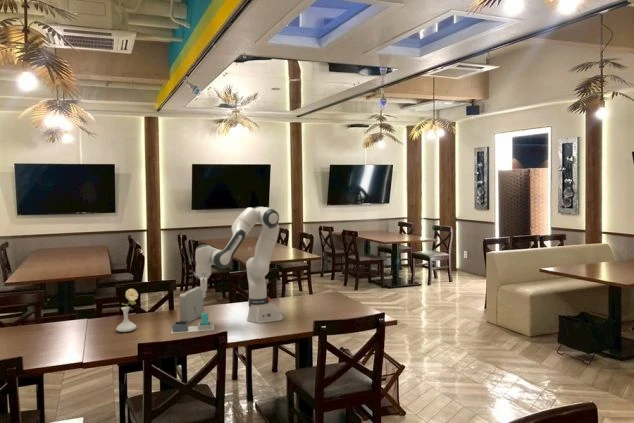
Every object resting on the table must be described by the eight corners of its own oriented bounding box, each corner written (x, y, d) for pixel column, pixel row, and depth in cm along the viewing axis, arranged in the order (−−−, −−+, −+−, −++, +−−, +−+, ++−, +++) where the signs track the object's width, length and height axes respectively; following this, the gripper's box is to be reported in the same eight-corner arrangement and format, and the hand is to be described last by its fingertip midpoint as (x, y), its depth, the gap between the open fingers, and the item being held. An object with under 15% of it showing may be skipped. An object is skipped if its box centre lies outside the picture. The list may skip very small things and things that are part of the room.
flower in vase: (118, 334, 284) (116, 292, 283) (114, 330, 294) (112, 288, 293) (141, 330, 291) (139, 289, 290) (137, 326, 301) (135, 286, 300)
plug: (208, 326, 292) (208, 312, 292) (208, 328, 288) (208, 314, 288) (201, 327, 291) (201, 313, 291) (201, 329, 288) (201, 314, 287)
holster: (212, 325, 295) (211, 321, 295) (212, 329, 287) (212, 325, 287) (198, 326, 293) (198, 322, 293) (198, 330, 285) (197, 326, 285)
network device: (189, 328, 295) (188, 295, 294) (176, 327, 297) (174, 294, 296) (207, 316, 320) (206, 286, 319) (194, 316, 322) (193, 286, 321)
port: (188, 327, 292) (188, 320, 292) (187, 331, 284) (187, 324, 283) (173, 328, 290) (173, 321, 290) (172, 332, 282) (172, 325, 282)
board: (213, 327, 296) (213, 324, 296) (214, 332, 286) (213, 329, 286) (172, 330, 291) (172, 327, 291) (171, 335, 280) (171, 333, 280)
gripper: (209, 275, 279) (209, 299, 279) (208, 269, 299) (209, 291, 299) (197, 275, 277) (198, 300, 278) (198, 269, 297) (198, 292, 298)
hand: (204, 295), depth 289 cm, fingers open, 8 cm apart
